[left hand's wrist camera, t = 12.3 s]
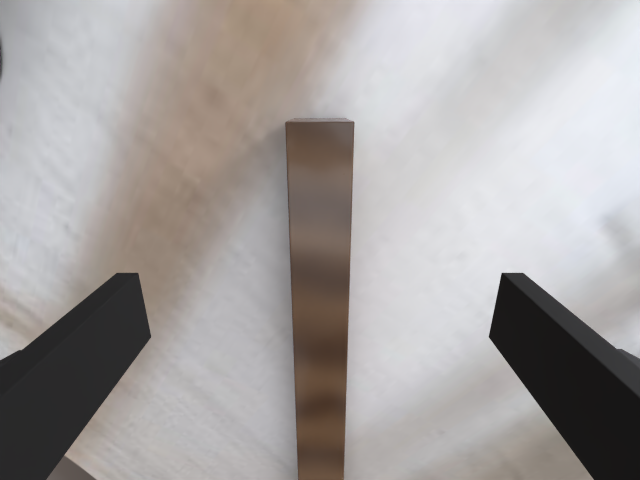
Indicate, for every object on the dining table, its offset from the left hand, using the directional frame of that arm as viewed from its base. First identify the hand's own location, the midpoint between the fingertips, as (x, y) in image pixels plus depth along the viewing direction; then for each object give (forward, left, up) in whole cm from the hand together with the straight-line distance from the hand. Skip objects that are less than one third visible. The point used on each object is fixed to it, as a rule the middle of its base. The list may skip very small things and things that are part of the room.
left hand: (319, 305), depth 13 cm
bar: (+8, -26, -24) cm, 36 cm away
